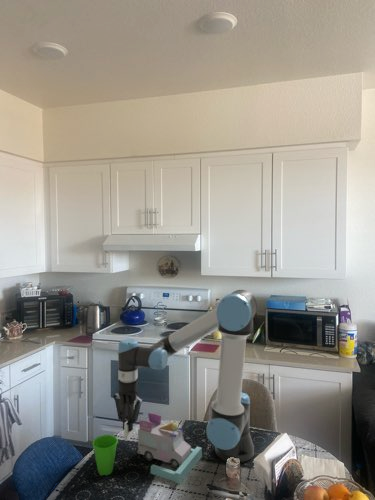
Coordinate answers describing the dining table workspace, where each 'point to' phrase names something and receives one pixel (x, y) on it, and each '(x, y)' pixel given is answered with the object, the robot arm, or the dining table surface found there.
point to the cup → (105, 453)
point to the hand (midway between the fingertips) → (127, 438)
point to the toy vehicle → (162, 441)
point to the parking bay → (182, 470)
